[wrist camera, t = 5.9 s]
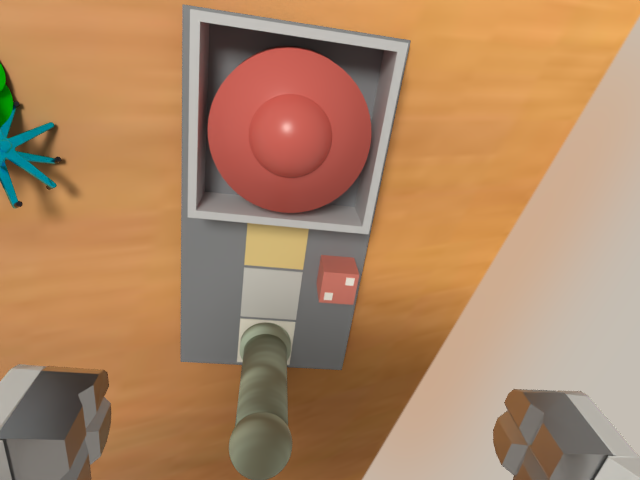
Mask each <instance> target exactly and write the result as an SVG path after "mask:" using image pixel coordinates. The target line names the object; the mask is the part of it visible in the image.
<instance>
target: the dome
mask: <svg viewBox="0 0 640 480" xmlns="http://www.w3.org/2000/svg"><path fill="white" fill-rule="evenodd" d="M208 141H209V147H210V151H211V154H212V158H213V160H214V163H215V165H216V167H217V169H218V171H219V172H220V174H221V176H222V177H223V179H224V180H225V181H226V182H227V184H228V185H229V186H230V187H231V188H232V189H233V190H234V191H235V192H236V193H237V194H239V195H240V196H241V197H243V198H244V199H245V200H247V201H249V202H251V203H252V204H254V205H257V206H259V207H261V208H264V209H267V210H271V211H276V212H282V213H298V212H305V211H310V210H314V209H317V208H320V207H322V206H324V205H326V204H328V203H330V202H332V201H333V200H335V199H337V198H338V197H339V196H341V195H342V194H343V193H344V192H345V191H347V189H348V188H349V187H350V186H351V185H352V184H353V183H354V181H355V180H356V179H357V177H358V176H359V174H360V173H361V171H362V169H363V167H364V165H365V162H366V160H367V157H368V153H369V149H370V144H371V120H370V114H369V110H368V107H367V104H366V101H365V99H364V97H363V94H362V93H361V91H360V89H359V88H358V86H357V84H356V83H355V82H354V81H353V79H352V78H351V77H350V76H349V75H348V74H347V73H346V72H345V71H344V70H343V69H342V68H341V67H339V66H338V65H337V64H335V63H334V62H333V61H331V60H330V59H328V58H327V57H325V56H323V55H322V54H320V53H318V52H315V51H313V50H310V49H307V48H302V47H296V46H278V47H273V48H268V49H265V50H263V51H260V52H258V53H256V54H254V55H252V56H250V57H248V58H247V59H246V60H244V61H243V62H242V63H241V64H240V65H239V66H237V67H236V68H235V69H234V70H233V71H232V72H231V73H230V74H229V75H228V77H227V78H226V79H225V80H224V82H223V83H222V84H221V86H220V88H219V89H218V91H217V93H216V95H215V97H214V100H213V102H212V105H211V109H210V113H209V118H208Z"/></svg>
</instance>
